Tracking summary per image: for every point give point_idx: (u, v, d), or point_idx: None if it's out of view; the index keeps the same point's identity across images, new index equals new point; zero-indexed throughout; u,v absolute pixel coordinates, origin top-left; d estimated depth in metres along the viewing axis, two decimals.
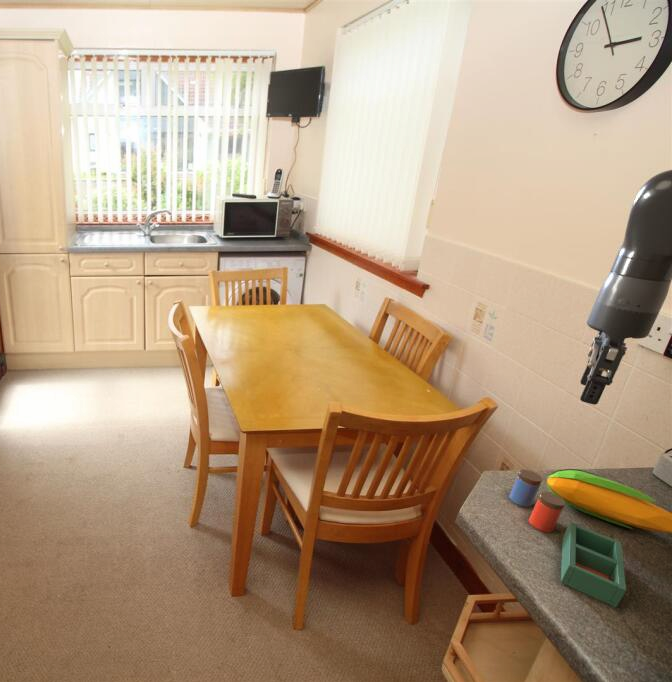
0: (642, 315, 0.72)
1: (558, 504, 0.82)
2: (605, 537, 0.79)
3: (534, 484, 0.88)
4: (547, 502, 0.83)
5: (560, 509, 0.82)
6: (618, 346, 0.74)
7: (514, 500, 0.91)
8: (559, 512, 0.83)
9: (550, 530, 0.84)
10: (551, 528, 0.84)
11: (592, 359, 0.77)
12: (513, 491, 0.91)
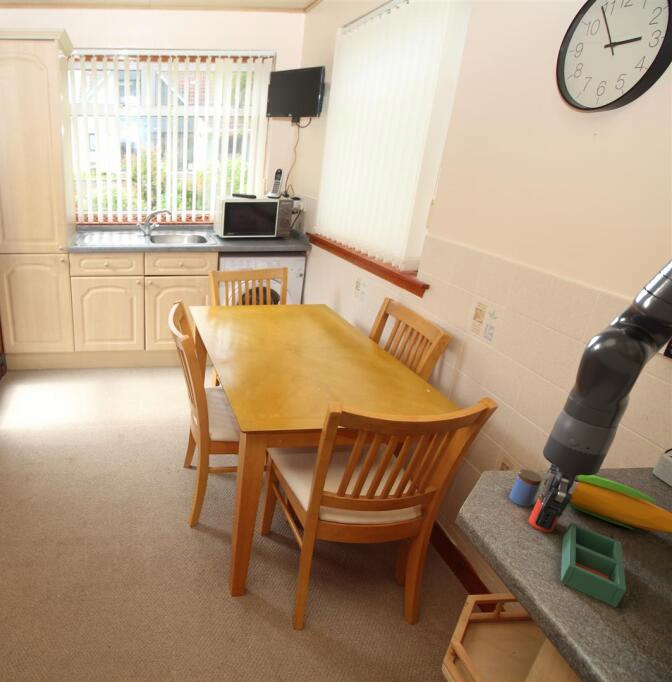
0: (591, 456, 0.76)
1: None
2: (605, 537, 0.79)
3: (534, 484, 0.88)
4: None
5: None
6: (569, 484, 0.78)
7: (514, 500, 0.91)
8: None
9: (550, 530, 0.84)
10: (551, 528, 0.84)
11: (545, 490, 0.82)
12: (513, 491, 0.91)
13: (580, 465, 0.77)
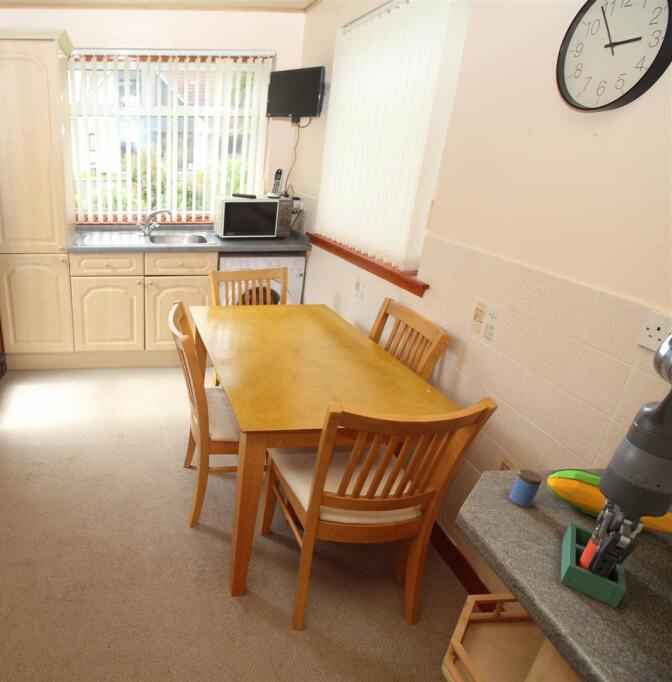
0: (662, 495, 0.64)
1: None
2: None
3: (534, 484, 0.88)
4: None
5: None
6: (633, 527, 0.66)
7: (514, 500, 0.91)
8: None
9: (605, 577, 0.72)
10: (607, 575, 0.72)
11: (602, 531, 0.70)
12: (513, 491, 0.91)
13: (648, 505, 0.65)
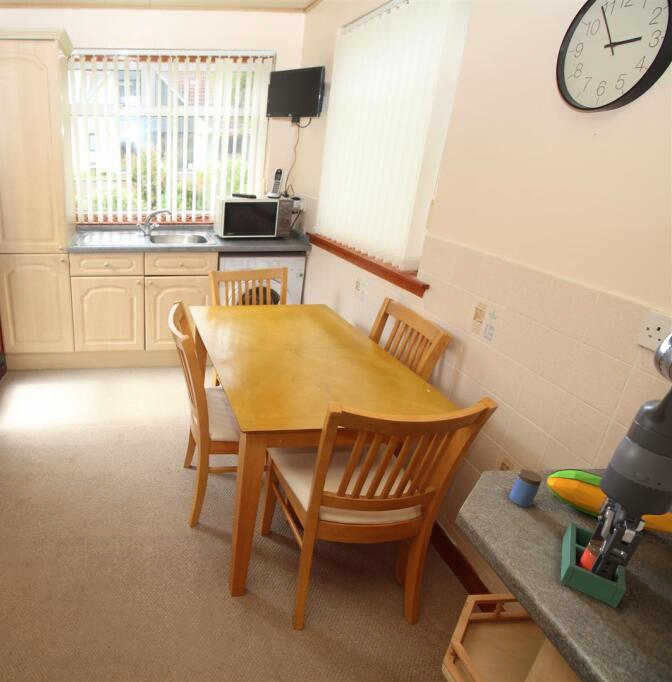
0: (663, 493, 0.63)
1: None
2: None
3: (534, 484, 0.88)
4: (598, 553, 0.71)
5: None
6: (635, 523, 0.66)
7: (514, 500, 0.91)
8: None
9: None
10: None
11: (605, 530, 0.69)
12: (513, 491, 0.91)
13: (649, 503, 0.64)
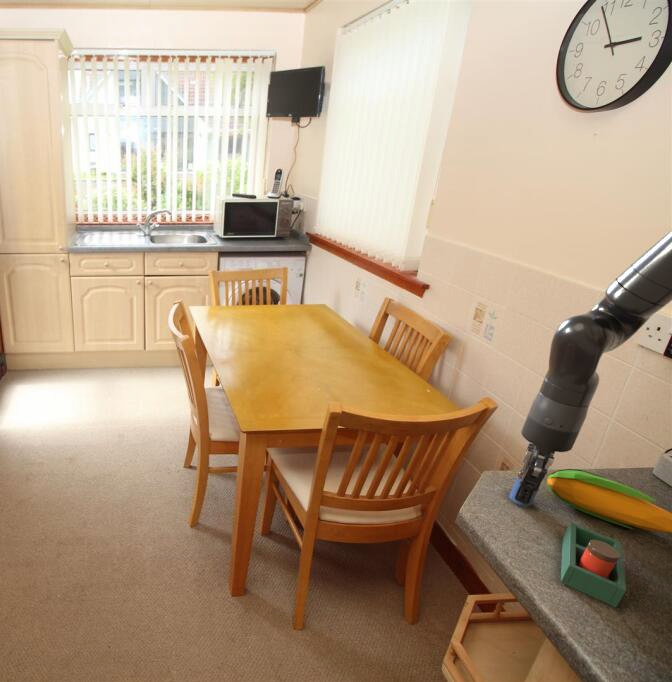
0: (564, 434, 0.82)
1: (611, 556, 0.71)
2: (605, 537, 0.79)
3: None
4: (598, 553, 0.71)
5: (614, 562, 0.71)
6: (544, 461, 0.84)
7: (514, 500, 0.91)
8: (613, 565, 0.71)
9: None
10: None
11: (524, 467, 0.88)
12: (513, 491, 0.91)
13: (554, 442, 0.83)
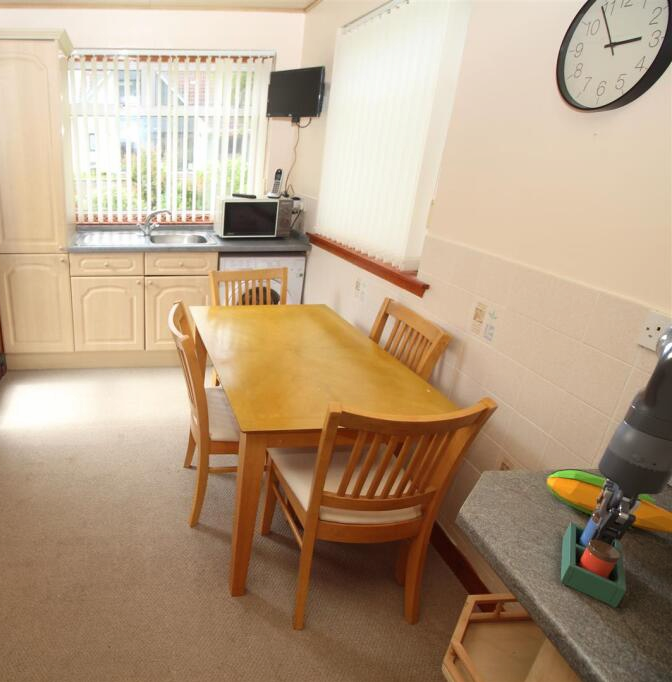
0: (658, 473, 0.68)
1: (611, 556, 0.71)
2: None
3: None
4: (598, 553, 0.71)
5: (614, 562, 0.71)
6: (631, 504, 0.70)
7: None
8: (613, 565, 0.71)
9: None
10: None
11: (602, 509, 0.74)
12: (585, 536, 0.77)
13: (645, 483, 0.69)
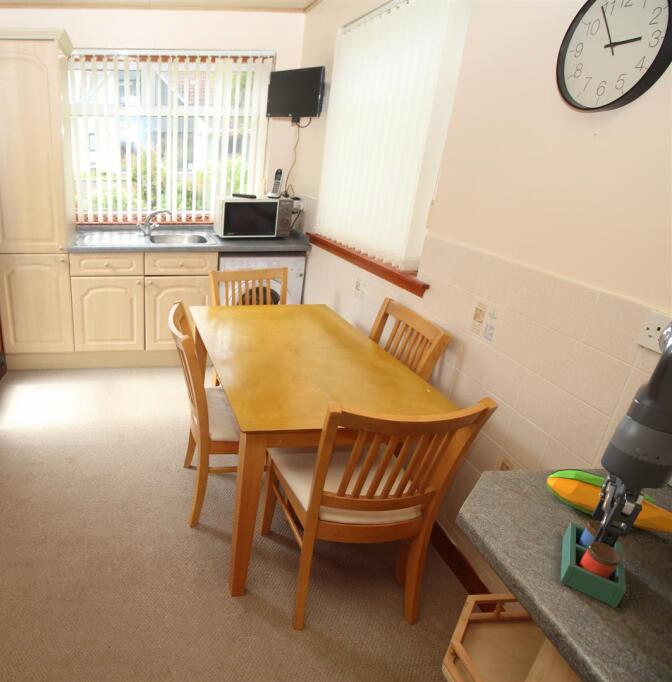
0: (661, 467, 0.67)
1: (612, 561, 0.70)
2: None
3: None
4: (598, 558, 0.71)
5: (614, 566, 0.70)
6: (635, 496, 0.69)
7: None
8: (613, 568, 0.70)
9: None
10: None
11: (606, 504, 0.72)
12: (580, 545, 0.78)
13: (648, 477, 0.68)
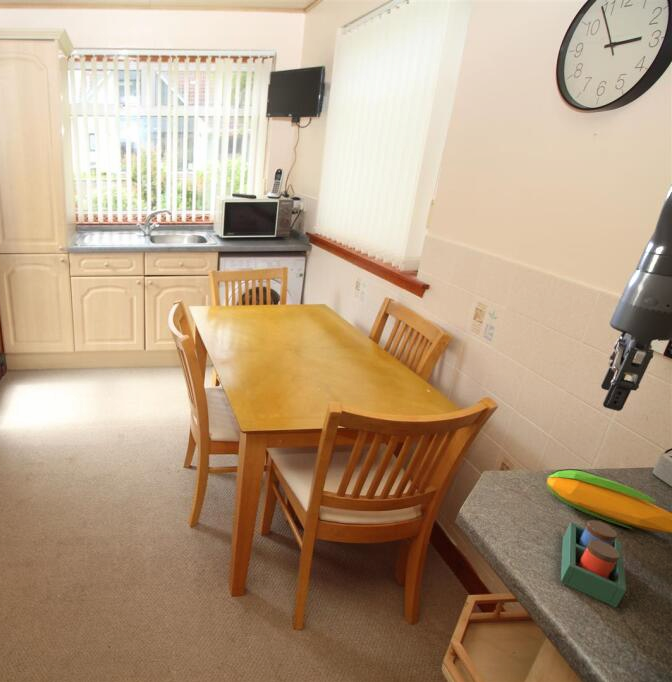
0: (671, 315, 0.67)
1: (611, 556, 0.71)
2: None
3: (607, 540, 0.75)
4: (598, 553, 0.71)
5: (614, 562, 0.71)
6: (645, 348, 0.69)
7: None
8: (613, 565, 0.71)
9: None
10: None
11: (616, 362, 0.72)
12: (580, 545, 0.78)
13: (658, 327, 0.68)
